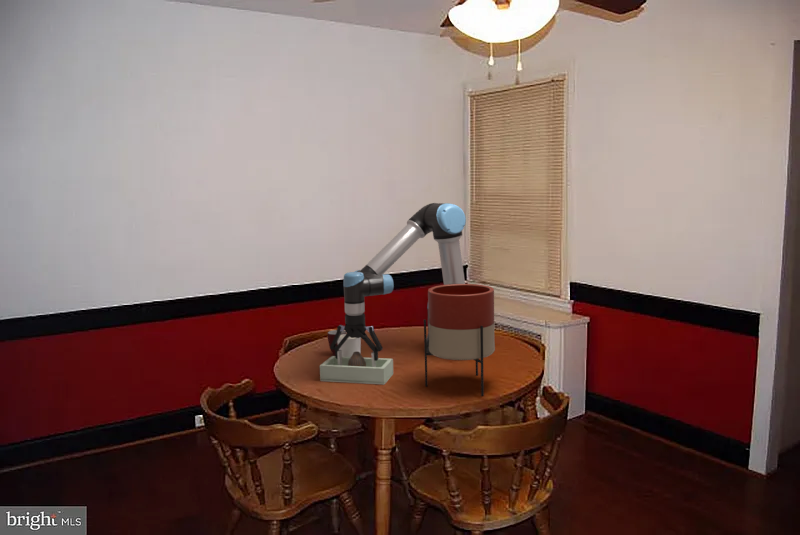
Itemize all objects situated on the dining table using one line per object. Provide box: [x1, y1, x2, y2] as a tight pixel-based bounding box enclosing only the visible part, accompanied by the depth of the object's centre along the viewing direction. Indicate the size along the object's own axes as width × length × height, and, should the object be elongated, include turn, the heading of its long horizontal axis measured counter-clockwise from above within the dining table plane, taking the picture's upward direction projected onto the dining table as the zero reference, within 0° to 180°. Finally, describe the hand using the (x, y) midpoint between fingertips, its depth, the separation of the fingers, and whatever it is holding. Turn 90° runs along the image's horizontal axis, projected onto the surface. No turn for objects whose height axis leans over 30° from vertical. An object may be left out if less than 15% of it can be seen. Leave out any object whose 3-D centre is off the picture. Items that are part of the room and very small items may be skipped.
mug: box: [327, 329, 347, 356], centre depth 273 cm, size 11×8×10 cm
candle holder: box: [337, 333, 362, 357], centre depth 257 cm, size 10×10×12 cm
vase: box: [348, 352, 366, 367], centre depth 241 cm, size 7×7×9 cm
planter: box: [423, 283, 496, 397], centre depth 226 cm, size 24×25×35 cm
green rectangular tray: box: [319, 355, 394, 385], centre depth 241 cm, size 25×13×6 cm, turn 76°
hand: (357, 368), depth 241 cm, fingers open, 13 cm apart
